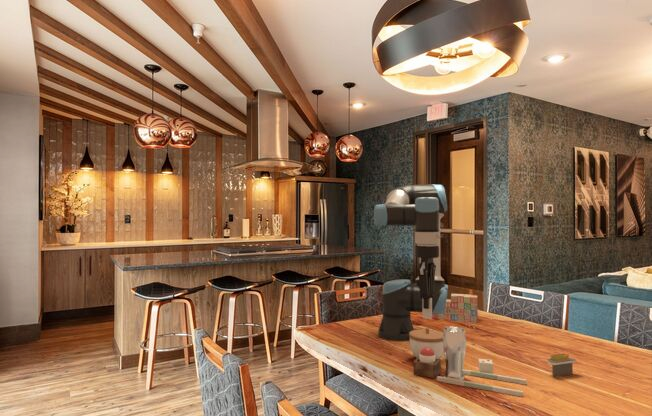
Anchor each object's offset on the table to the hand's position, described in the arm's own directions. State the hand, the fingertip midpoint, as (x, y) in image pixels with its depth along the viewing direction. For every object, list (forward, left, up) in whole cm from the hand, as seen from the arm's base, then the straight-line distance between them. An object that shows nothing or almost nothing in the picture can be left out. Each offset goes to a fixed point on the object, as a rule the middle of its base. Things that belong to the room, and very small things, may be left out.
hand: (427, 318), depth 140 cm
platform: (+38, +19, -18) cm, 46 cm away
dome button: (0, 0, -16) cm, 16 cm away
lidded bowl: (-3, +12, -18) cm, 22 cm away
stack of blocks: (-9, +78, -18) cm, 81 cm away
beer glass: (+9, 0, -18) cm, 20 cm away
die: (+17, +8, -18) cm, 26 cm away
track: (+17, 0, -17) cm, 24 cm away
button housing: (0, 0, -17) cm, 17 cm away
